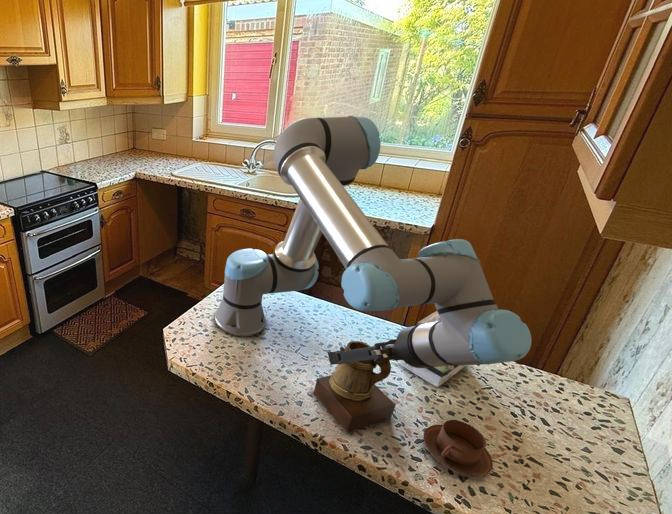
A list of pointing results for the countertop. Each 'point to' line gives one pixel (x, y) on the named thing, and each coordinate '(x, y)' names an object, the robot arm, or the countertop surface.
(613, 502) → the countertop surface
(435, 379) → the tea box
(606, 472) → the countertop surface
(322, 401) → the walnut block
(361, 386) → the wooden mug
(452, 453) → the cup and saucer
